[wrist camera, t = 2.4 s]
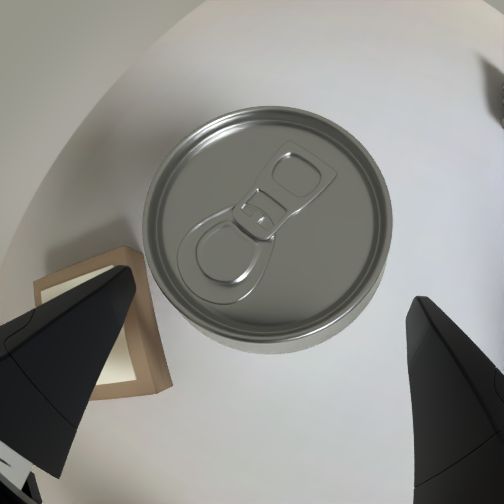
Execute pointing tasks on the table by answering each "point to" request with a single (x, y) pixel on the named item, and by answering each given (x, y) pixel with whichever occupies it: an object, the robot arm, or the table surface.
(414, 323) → the robot arm
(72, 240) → the table surface
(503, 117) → the egg carton
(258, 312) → the can
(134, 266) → the block
